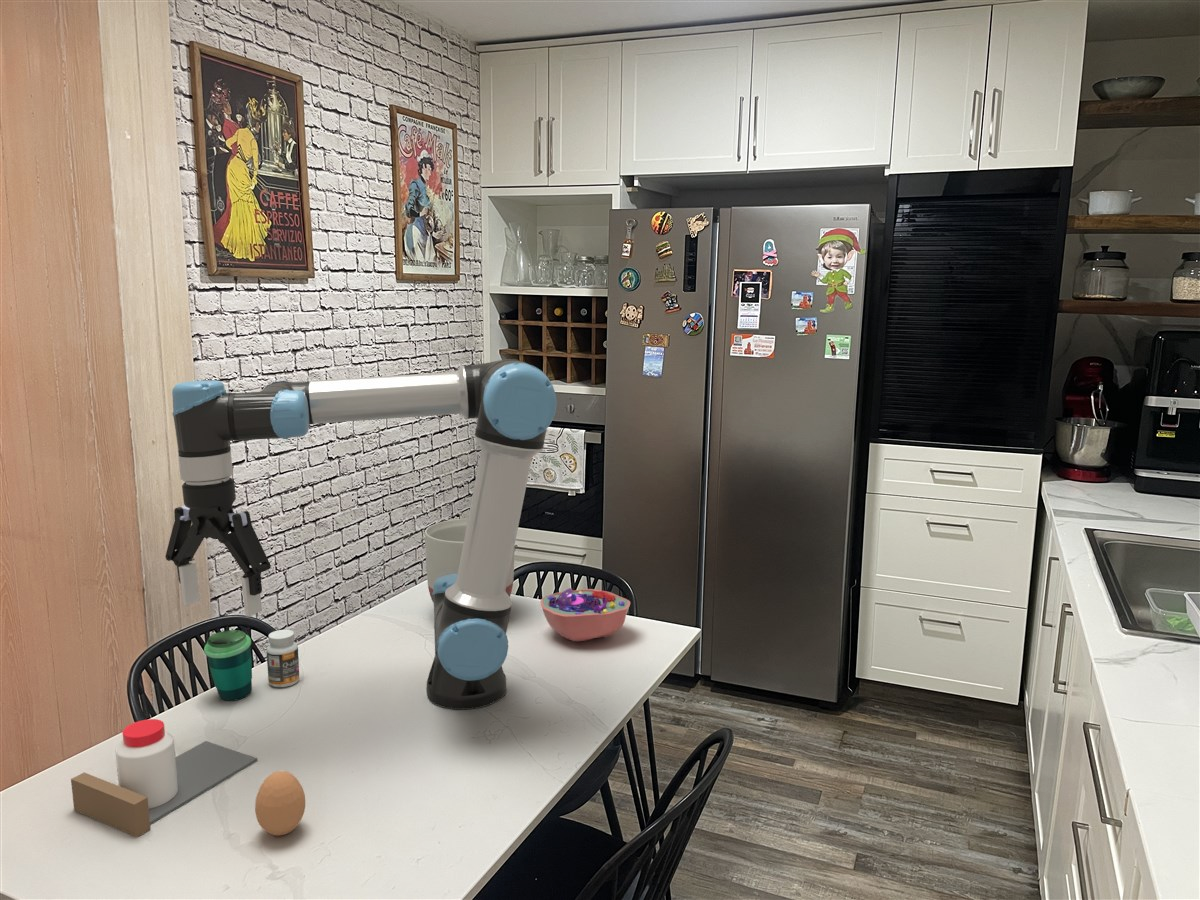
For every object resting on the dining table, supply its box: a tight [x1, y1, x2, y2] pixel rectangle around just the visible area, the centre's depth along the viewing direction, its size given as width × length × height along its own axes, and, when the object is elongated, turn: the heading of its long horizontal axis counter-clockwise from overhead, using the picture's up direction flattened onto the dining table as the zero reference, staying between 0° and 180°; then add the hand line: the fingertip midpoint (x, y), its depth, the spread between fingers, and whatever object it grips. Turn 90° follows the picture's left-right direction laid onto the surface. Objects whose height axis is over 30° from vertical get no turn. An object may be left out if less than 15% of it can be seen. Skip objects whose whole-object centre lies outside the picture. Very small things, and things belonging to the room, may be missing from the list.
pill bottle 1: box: [115, 718, 178, 809], centre depth 128 cm, size 8×8×11 cm
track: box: [70, 740, 258, 838], centre depth 132 cm, size 14×22×5 cm, turn 154°
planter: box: [424, 518, 515, 604], centre depth 200 cm, size 20×20×21 cm
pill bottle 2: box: [266, 629, 300, 688], centre depth 167 cm, size 6×6×10 cm
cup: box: [203, 629, 253, 702], centre depth 161 cm, size 8×8×12 cm
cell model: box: [540, 587, 631, 642], centre depth 190 cm, size 17×20×11 cm
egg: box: [254, 770, 306, 837], centre depth 121 cm, size 7×7×9 cm
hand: (222, 608), depth 139 cm, fingers open, 13 cm apart
